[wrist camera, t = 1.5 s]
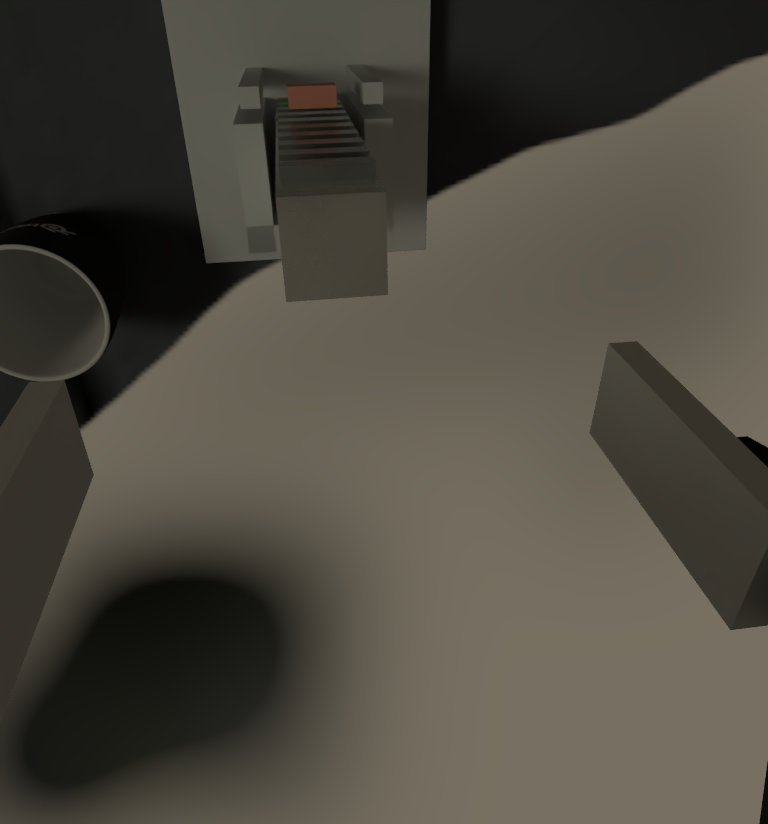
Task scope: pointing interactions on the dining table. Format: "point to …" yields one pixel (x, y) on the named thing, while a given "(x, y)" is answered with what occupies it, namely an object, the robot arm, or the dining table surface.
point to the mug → (57, 296)
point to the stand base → (297, 105)
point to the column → (328, 206)
